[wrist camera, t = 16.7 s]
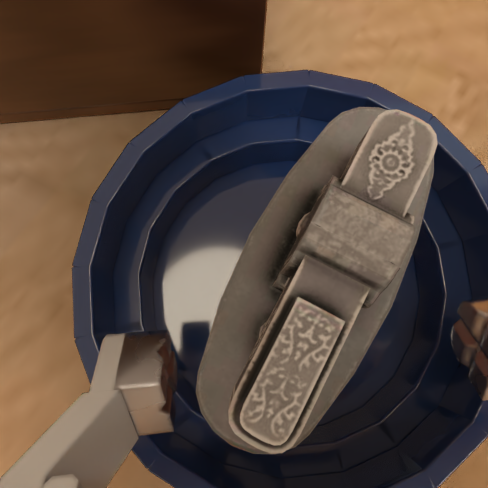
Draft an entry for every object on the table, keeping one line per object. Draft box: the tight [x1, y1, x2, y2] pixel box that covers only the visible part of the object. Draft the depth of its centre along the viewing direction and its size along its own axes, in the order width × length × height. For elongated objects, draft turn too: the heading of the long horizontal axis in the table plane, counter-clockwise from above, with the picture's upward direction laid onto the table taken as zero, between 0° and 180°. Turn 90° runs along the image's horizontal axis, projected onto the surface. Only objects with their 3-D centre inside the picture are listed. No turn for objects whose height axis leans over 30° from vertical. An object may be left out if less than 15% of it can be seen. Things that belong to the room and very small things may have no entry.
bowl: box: [72, 70, 488, 488], centre depth 15 cm, size 13×13×4 cm
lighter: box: [196, 107, 437, 454], centre depth 12 cm, size 8×3×10 cm, turn 152°
